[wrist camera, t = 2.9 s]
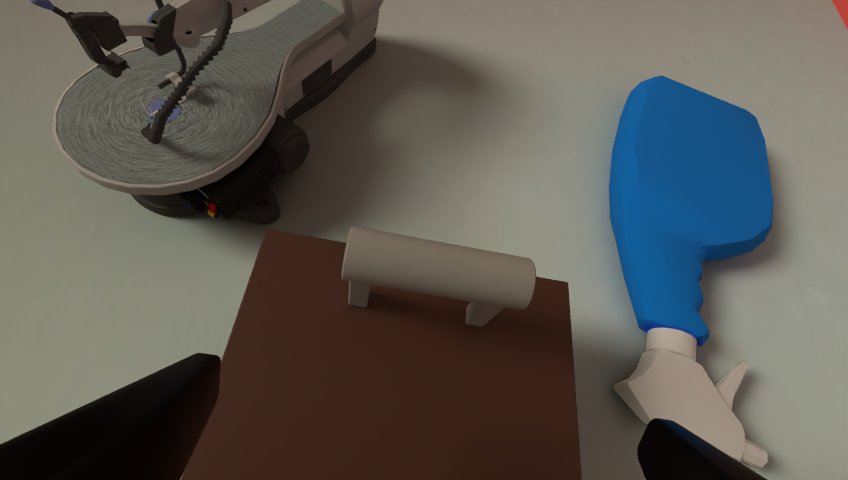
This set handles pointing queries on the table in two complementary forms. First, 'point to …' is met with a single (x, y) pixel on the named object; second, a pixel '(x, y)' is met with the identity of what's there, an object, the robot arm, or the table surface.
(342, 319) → the lid
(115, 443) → the robot arm
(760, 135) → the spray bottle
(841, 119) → the table surface
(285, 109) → the scroll saw
